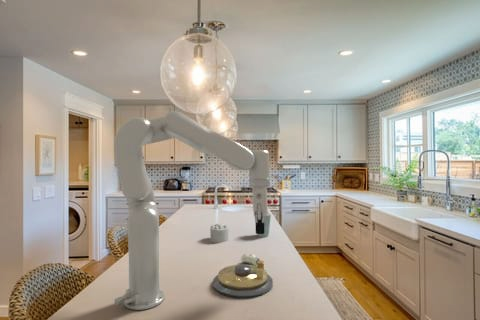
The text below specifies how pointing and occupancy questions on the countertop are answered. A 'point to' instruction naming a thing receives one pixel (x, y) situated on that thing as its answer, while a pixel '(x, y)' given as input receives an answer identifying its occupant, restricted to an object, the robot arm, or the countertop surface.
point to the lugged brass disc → (243, 277)
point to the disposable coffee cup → (265, 224)
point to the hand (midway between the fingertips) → (260, 233)
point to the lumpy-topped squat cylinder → (219, 233)
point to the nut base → (243, 294)
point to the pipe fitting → (250, 259)
